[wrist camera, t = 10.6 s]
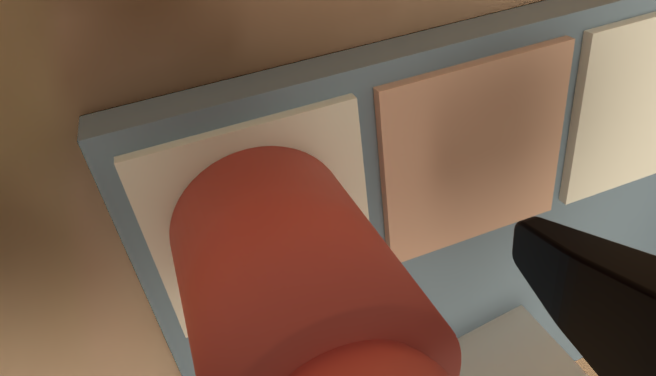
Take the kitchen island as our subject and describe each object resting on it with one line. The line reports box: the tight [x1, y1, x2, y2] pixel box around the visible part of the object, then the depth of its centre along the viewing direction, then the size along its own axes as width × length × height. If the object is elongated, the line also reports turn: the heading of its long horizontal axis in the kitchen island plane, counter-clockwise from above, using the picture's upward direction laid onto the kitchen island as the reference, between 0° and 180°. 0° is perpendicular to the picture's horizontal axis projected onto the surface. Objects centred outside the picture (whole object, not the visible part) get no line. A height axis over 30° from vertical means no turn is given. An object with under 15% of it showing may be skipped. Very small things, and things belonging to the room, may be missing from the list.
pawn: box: [169, 146, 461, 376], centre depth 9 cm, size 4×4×7 cm
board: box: [77, 0, 656, 376], centre depth 17 cm, size 14×26×2 cm, turn 97°
